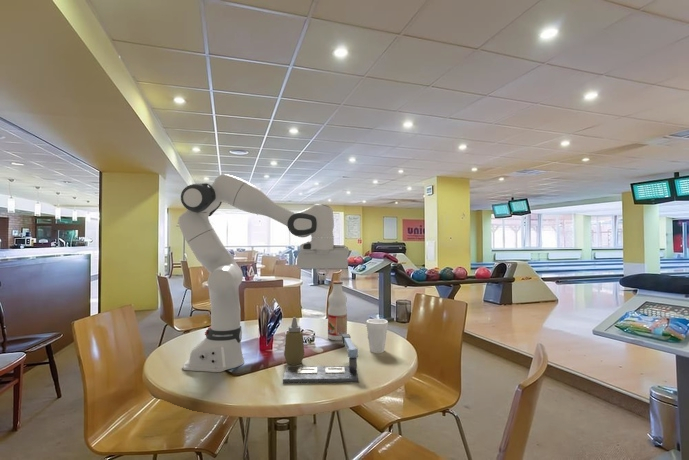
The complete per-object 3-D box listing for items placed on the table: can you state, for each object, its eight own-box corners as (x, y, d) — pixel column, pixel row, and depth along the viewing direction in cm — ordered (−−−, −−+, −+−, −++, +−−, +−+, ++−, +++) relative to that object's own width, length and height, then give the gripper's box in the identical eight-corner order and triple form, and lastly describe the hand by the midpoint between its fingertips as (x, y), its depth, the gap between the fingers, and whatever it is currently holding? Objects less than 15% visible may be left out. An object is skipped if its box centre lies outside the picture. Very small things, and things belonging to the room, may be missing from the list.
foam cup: (386, 355, 154) (386, 324, 154) (365, 353, 156) (365, 323, 156) (388, 348, 163) (388, 319, 163) (368, 346, 165) (368, 318, 165)
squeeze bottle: (308, 361, 146) (308, 316, 146) (297, 367, 139) (297, 320, 139) (291, 358, 149) (291, 314, 150) (279, 364, 142) (280, 318, 142)
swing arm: (358, 357, 131) (358, 350, 131) (348, 358, 130) (348, 350, 130) (349, 340, 152) (349, 333, 152) (341, 340, 151) (341, 334, 151)
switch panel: (282, 383, 124) (282, 365, 124) (286, 370, 136) (286, 353, 136) (358, 382, 125) (358, 364, 125) (355, 369, 137) (355, 353, 137)
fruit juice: (345, 341, 174) (346, 282, 174) (326, 340, 175) (326, 282, 175) (347, 335, 183) (347, 280, 183) (329, 335, 184) (329, 280, 184)
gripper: (348, 245, 147) (348, 279, 147) (297, 244, 146) (297, 279, 146) (349, 245, 140) (349, 281, 140) (296, 245, 139) (296, 281, 139)
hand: (322, 280), depth 143 cm, fingers closed
